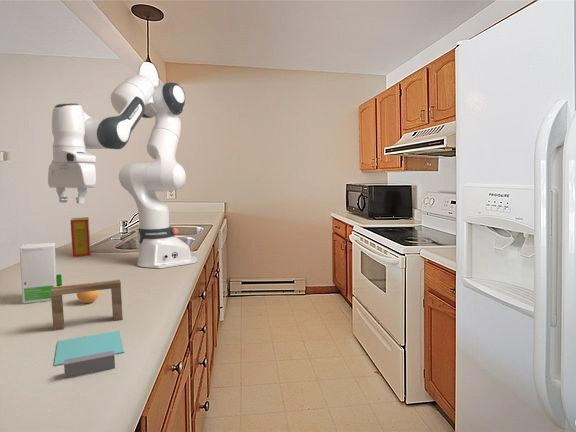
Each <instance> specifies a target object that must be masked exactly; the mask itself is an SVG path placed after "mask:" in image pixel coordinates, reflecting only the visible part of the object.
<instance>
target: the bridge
mask: <svg viewBox="0 0 576 432" xmlns="http://www.w3.org/2000/svg"><path fill="white" fill-rule="evenodd" d="M85 283H86V284H84V283H80V284H71V285H69V284H68V285H62V286H61V287H52V288H51V300H50V301H51V303H50V304H51V313H52V314H51V315H52V327H53V329H52V330H53V331H59V330H64V328H65V318H64V317H65V316H64V303H63V302H64V301H63V295H64V296H65V295H70V294H72V295H73V294H77V293H80V292H88V291H96V290H99V291H105V290H111V291H110V292H111V307H112V308H111V309H112V319H113V320H112V321H113V322H115V321H116V322H117V321H123V318H124V317H123V303H122V300H123V299H122V286H121V285H122V284H121V283H122V282H121V280H120V279H115V280H113V279H112V280H104V281H96V282H89V283H88V282H85Z"/></svg>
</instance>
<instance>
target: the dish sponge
mask: <svg viewBox="0 0 576 432" xmlns="http://www.w3.org/2000/svg"><path fill="white" fill-rule="evenodd" d="M56 284H57V287H61V286H63V279H62V274H60V273H59V274H56Z"/></svg>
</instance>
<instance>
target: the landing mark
mask: <svg viewBox="0 0 576 432" xmlns="http://www.w3.org/2000/svg"><path fill="white" fill-rule="evenodd" d="M122 340H123V339H122V336H121V333H120V330H115V331H108V332H104V333H98V334H97V333H96V334H91V335H86V336H85V335H84V336H80V337H79V336H78V337H73V338H67V339H63V340H58V341H57V342H56V343H57V344H56V350H55V356H54V363H53V366H54V367H58V366H64V360H66V359H71V358H77V357H82V356H87V355H93V354H98V353H103V352H109V351H114V356H115V355H119V354H124V353H125V349H124V346H123V342H122Z"/></svg>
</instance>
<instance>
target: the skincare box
mask: <svg viewBox="0 0 576 432" xmlns="http://www.w3.org/2000/svg"><path fill="white" fill-rule="evenodd" d="M19 256H20V261H19V262H20V279H21V281H20V282H21V295H22V296H21V298H22V304H23V305H25V304H30V303H31V304H32V303H39V302H47V301H48V302H49V301H51V288H52V287H57V284H56V275H57V268H56V267H57V266H56V263H57V262H56V243H55V242H47V243H46V242H45V243H43V242H42V243H25V244H24V243H22V244H21V246H20V248H19Z"/></svg>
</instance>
